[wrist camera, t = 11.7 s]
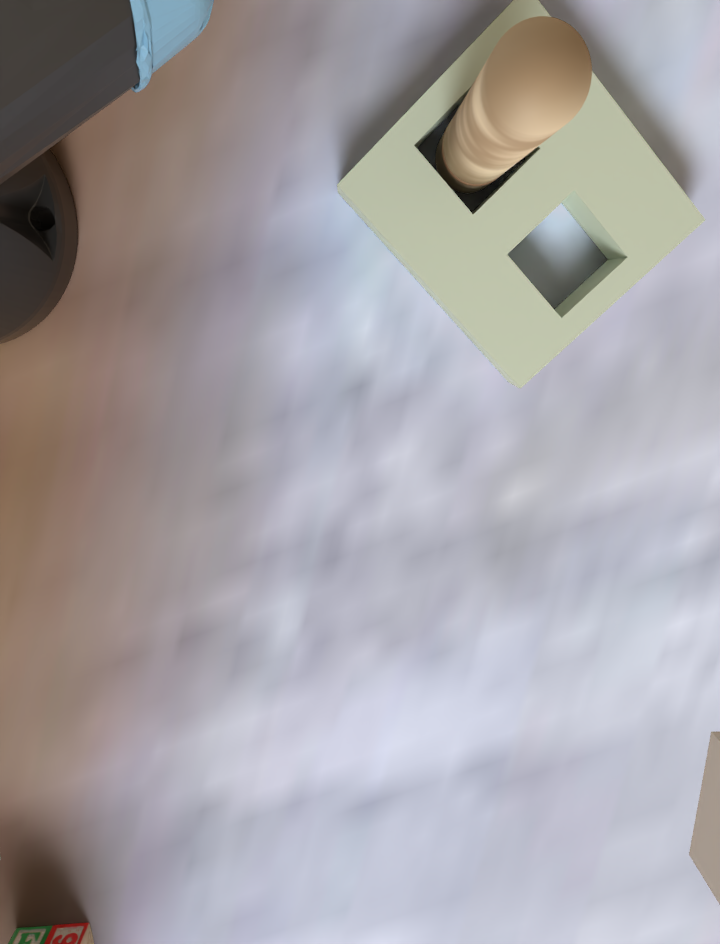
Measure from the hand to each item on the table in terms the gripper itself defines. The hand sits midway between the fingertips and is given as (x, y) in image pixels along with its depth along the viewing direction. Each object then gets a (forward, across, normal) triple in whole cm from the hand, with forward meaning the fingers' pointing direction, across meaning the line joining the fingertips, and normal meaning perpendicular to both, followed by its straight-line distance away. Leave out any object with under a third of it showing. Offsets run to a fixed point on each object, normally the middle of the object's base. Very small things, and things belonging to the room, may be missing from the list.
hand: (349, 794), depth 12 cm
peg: (+33, +7, +17) cm, 37 cm away
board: (+33, +10, +14) cm, 37 cm away
